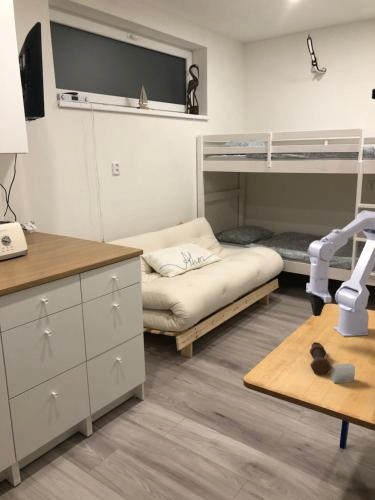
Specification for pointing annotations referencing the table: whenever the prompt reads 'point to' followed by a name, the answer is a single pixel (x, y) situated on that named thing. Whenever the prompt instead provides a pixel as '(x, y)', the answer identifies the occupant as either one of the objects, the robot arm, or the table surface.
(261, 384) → the table surface
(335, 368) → the block
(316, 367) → the bolt
